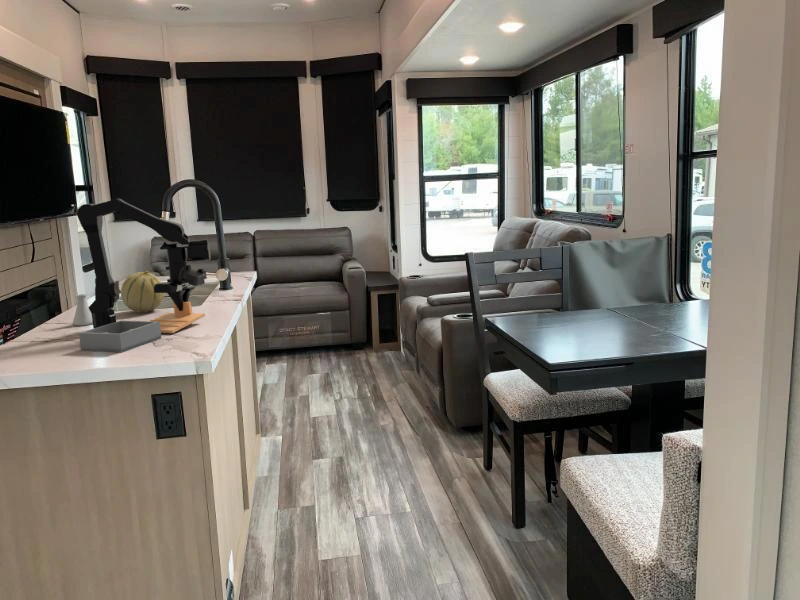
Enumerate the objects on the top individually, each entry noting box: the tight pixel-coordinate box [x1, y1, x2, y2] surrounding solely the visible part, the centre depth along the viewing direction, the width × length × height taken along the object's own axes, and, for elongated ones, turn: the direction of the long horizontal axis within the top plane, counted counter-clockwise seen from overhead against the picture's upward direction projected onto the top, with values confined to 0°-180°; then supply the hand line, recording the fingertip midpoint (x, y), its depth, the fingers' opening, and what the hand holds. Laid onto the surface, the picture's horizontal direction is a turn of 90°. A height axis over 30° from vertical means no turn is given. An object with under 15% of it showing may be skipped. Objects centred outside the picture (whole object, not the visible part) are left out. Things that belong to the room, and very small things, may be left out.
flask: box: [71, 293, 93, 327], centre depth 212 cm, size 7×7×10 cm
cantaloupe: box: [120, 270, 165, 313], centre depth 229 cm, size 15×15×15 cm
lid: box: [150, 301, 206, 334], centre depth 199 cm, size 15×17×5 cm
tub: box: [78, 320, 162, 353], centre depth 180 cm, size 14×16×5 cm
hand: (182, 310), depth 206 cm, fingers closed on lid
